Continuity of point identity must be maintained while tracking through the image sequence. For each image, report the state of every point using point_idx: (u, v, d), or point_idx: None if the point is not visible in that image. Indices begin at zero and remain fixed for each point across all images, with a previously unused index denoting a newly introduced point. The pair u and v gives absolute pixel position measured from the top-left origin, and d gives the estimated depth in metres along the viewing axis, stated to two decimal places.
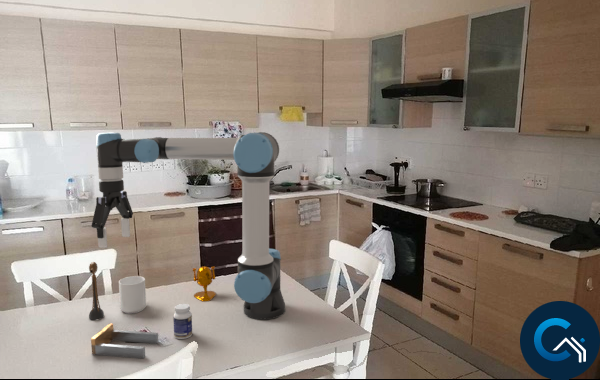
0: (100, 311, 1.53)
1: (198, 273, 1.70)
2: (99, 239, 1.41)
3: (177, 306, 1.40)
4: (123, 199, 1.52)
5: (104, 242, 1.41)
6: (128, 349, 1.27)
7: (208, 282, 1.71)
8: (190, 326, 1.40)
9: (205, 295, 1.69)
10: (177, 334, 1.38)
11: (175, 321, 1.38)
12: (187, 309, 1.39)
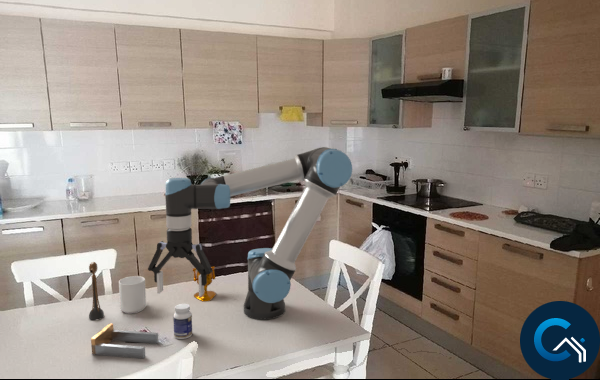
0: (100, 311, 1.53)
1: (198, 273, 1.70)
2: None
3: (177, 306, 1.40)
4: None
5: None
6: (128, 349, 1.27)
7: (208, 282, 1.71)
8: (190, 326, 1.40)
9: (205, 295, 1.69)
10: (177, 334, 1.38)
11: (175, 321, 1.38)
12: (187, 309, 1.39)
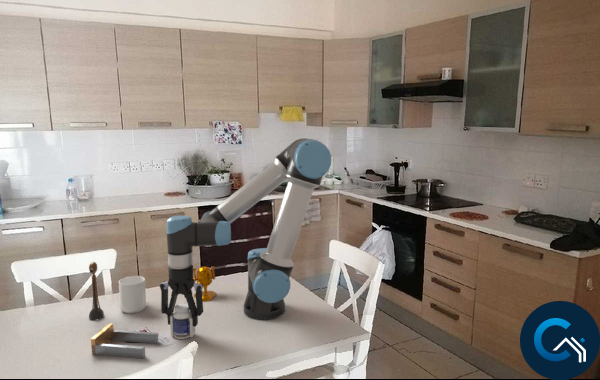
0: (100, 311, 1.53)
1: (198, 273, 1.70)
2: None
3: (177, 306, 1.40)
4: None
5: None
6: (128, 349, 1.27)
7: (208, 282, 1.71)
8: None
9: (205, 295, 1.69)
10: (177, 334, 1.38)
11: (175, 321, 1.38)
12: (187, 309, 1.39)
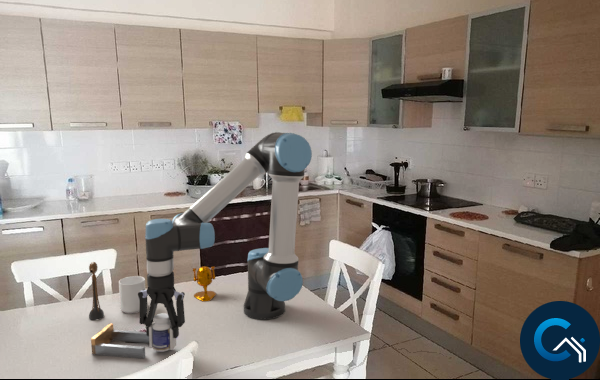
0: (100, 311, 1.53)
1: (198, 273, 1.70)
2: None
3: (156, 316, 1.30)
4: None
5: None
6: (128, 349, 1.27)
7: (208, 282, 1.71)
8: None
9: (205, 295, 1.69)
10: (156, 347, 1.28)
11: (154, 332, 1.28)
12: (167, 319, 1.29)
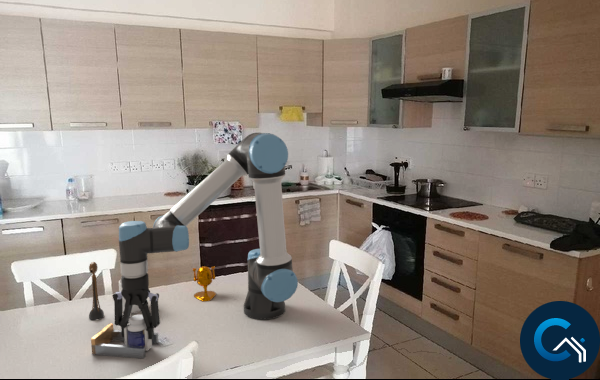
0: (100, 311, 1.53)
1: (198, 273, 1.70)
2: None
3: (131, 317, 1.31)
4: None
5: None
6: (128, 349, 1.27)
7: (208, 282, 1.71)
8: None
9: (205, 295, 1.69)
10: None
11: (129, 333, 1.29)
12: (142, 321, 1.30)
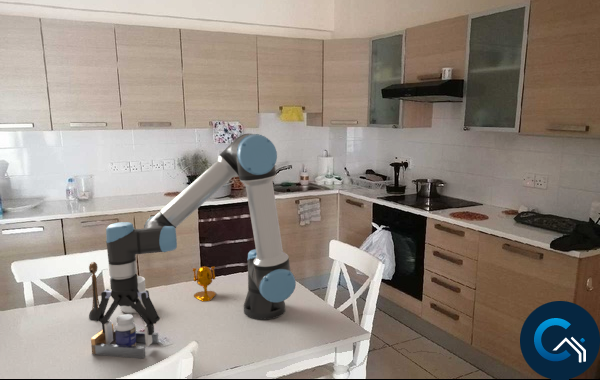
0: None
1: (198, 273, 1.70)
2: None
3: (119, 317, 1.31)
4: None
5: None
6: (128, 349, 1.27)
7: (208, 282, 1.71)
8: (133, 338, 1.32)
9: (205, 295, 1.69)
10: None
11: (116, 333, 1.30)
12: (129, 320, 1.31)
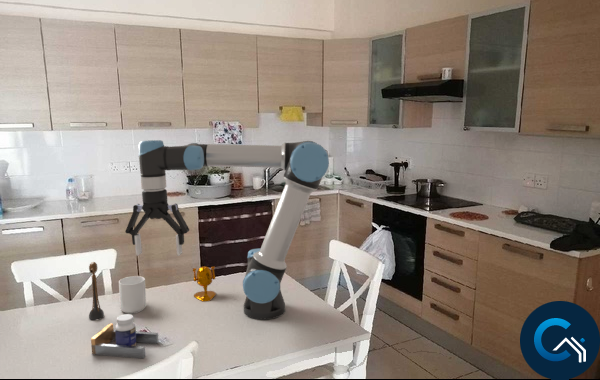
0: (100, 311, 1.53)
1: (198, 273, 1.70)
2: None
3: (119, 317, 1.31)
4: None
5: None
6: (128, 349, 1.27)
7: (208, 282, 1.71)
8: (133, 338, 1.32)
9: (205, 295, 1.69)
10: None
11: (116, 333, 1.30)
12: (129, 320, 1.31)
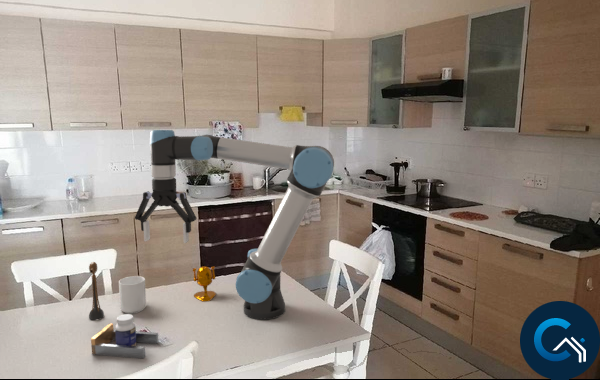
0: (100, 311, 1.53)
1: (198, 273, 1.70)
2: None
3: (119, 317, 1.31)
4: None
5: None
6: (128, 349, 1.27)
7: (208, 282, 1.71)
8: (133, 338, 1.32)
9: (205, 295, 1.69)
10: None
11: (116, 333, 1.30)
12: (129, 320, 1.31)
